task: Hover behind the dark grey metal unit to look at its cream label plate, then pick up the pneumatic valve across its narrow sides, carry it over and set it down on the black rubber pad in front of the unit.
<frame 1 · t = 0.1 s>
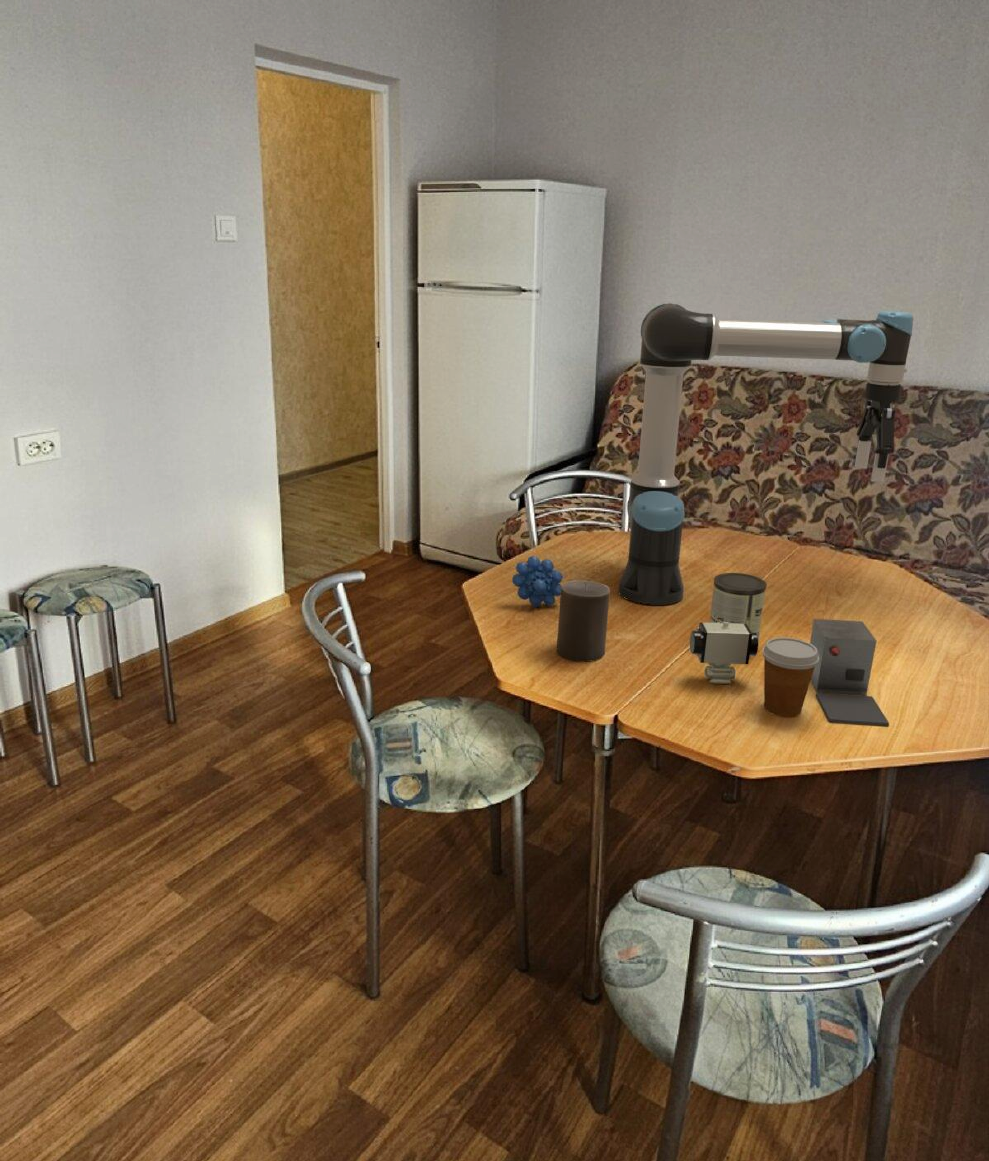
hand: (868, 474, 212), 28 cm above the table, fingers open, 13 cm apart
disposable coffee cup: (782, 710, 161), on the table
pneumatic valve: (718, 680, 171), on the table
pad: (850, 710, 161), on the table
coffee can: (731, 645, 187), on the table
pillar candle: (581, 652, 182), on the table
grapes: (537, 608, 203), on the table
unit: (835, 682, 171), on the table
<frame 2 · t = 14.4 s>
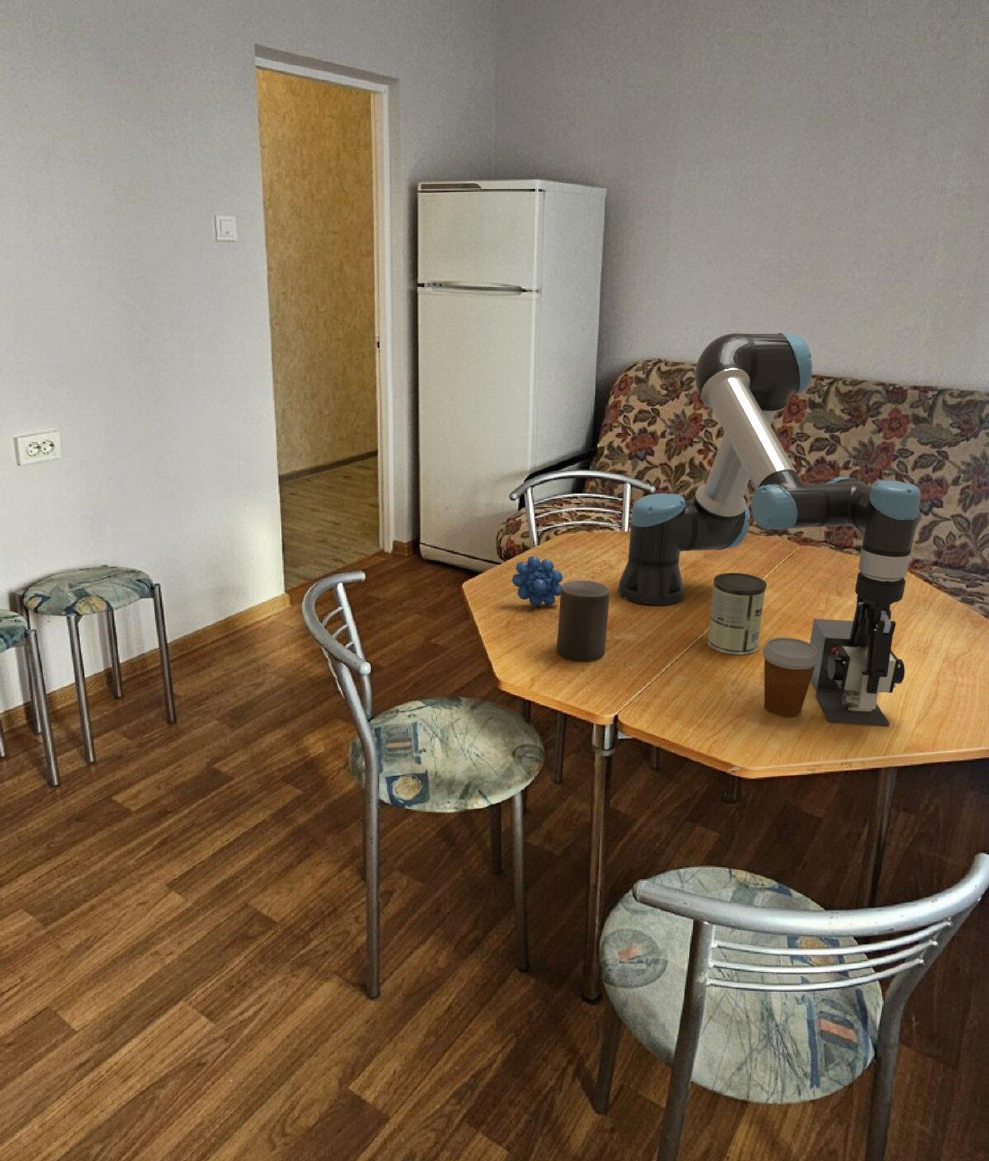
hand: (860, 697, 159), 3 cm above the table, fingers open, 7 cm apart
pneumatic valve: (856, 708, 161), resting on pad
everything else where it was.
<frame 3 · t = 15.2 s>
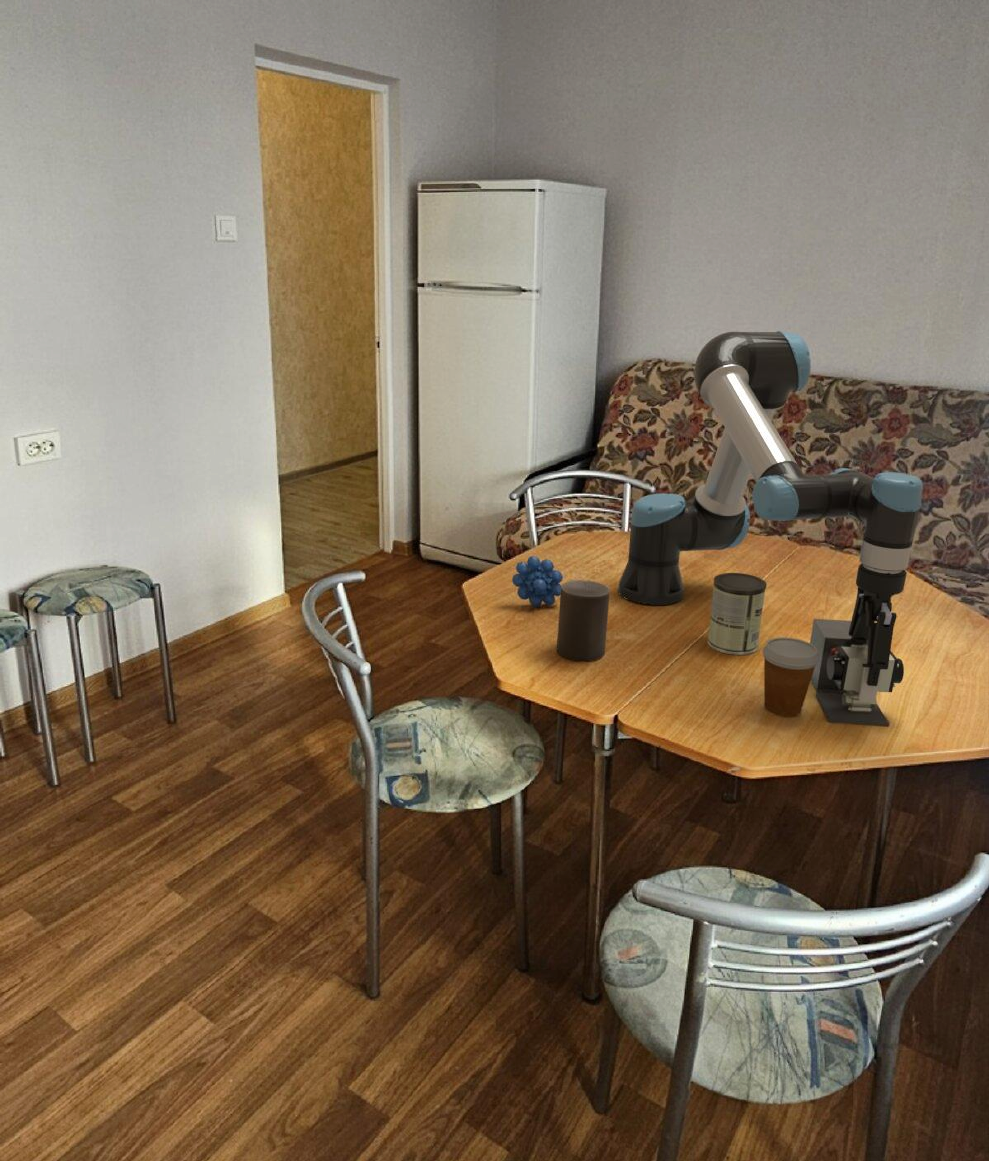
hand: (860, 689, 159), 4 cm above the table, fingers open, 7 cm apart
nothing on the table moved.
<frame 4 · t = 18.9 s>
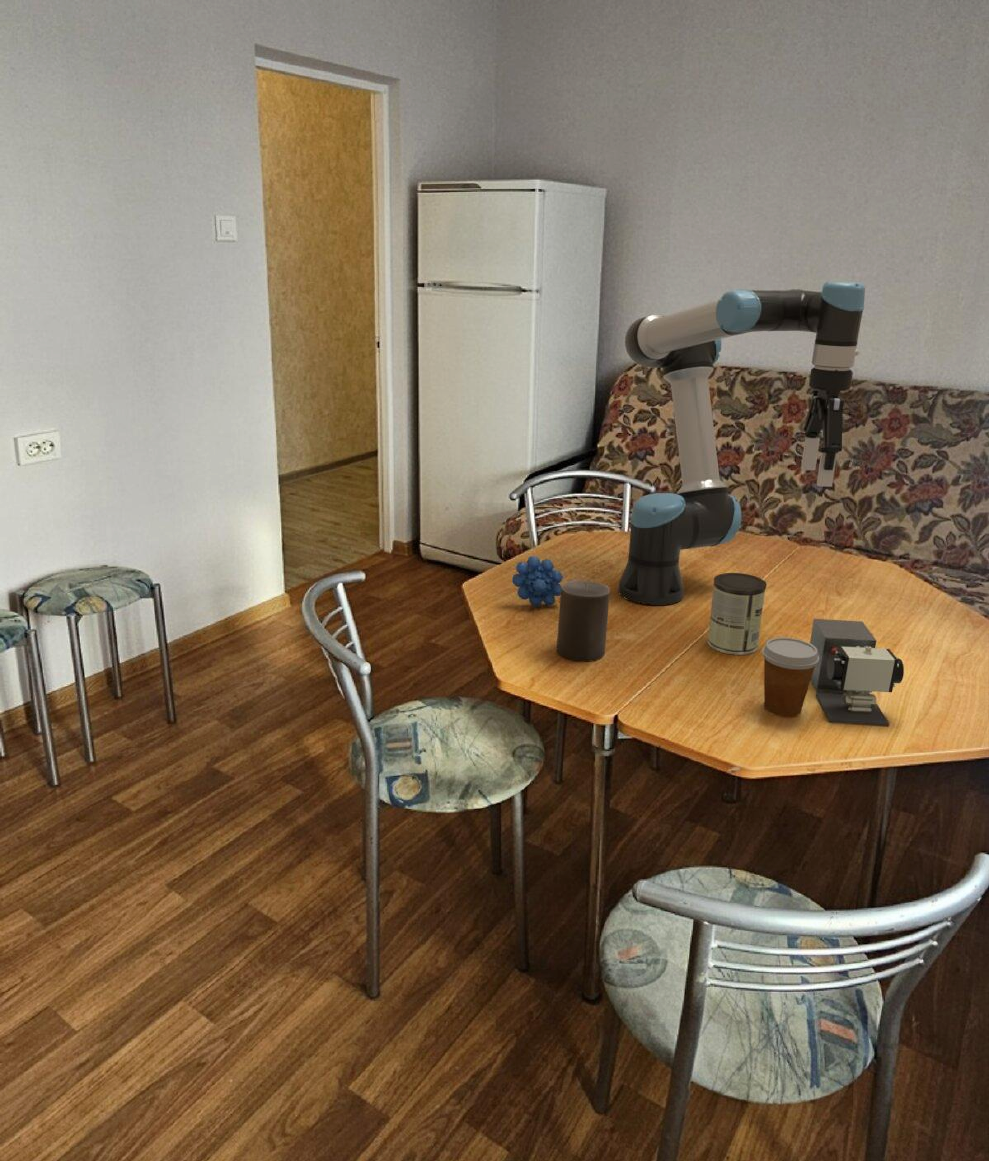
hand: (815, 477, 178), 35 cm above the table, fingers open, 13 cm apart
nothing on the table moved.
at the end: pneumatic valve inside the target area on the pad (0.4 cm from its centre), point 0.4 cm above the pad's base; the gripper is holding nothing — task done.
